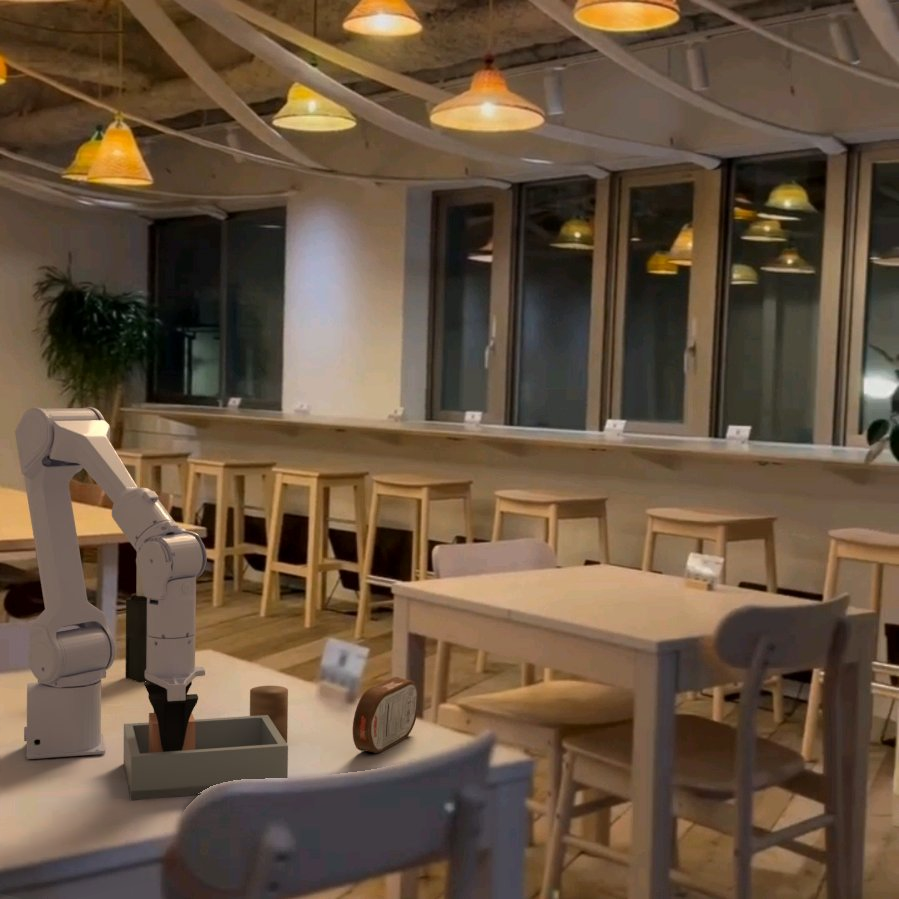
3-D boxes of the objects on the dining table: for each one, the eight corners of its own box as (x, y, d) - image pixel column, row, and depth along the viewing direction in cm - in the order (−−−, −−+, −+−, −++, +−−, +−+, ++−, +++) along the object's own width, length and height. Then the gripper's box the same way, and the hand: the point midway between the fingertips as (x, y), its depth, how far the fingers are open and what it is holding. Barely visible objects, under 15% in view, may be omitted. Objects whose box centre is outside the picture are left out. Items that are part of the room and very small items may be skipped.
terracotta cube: (152, 765, 147) (152, 724, 147) (148, 753, 152) (148, 713, 151) (194, 762, 149) (195, 721, 148) (190, 750, 153) (190, 710, 153)
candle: (167, 677, 200) (169, 522, 199) (140, 683, 196) (141, 525, 195) (149, 672, 203) (151, 520, 202) (122, 677, 200) (123, 522, 198)
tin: (401, 729, 173) (402, 669, 173) (421, 732, 172) (422, 672, 172) (349, 758, 160) (350, 693, 159) (371, 762, 158) (372, 696, 158)
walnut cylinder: (252, 748, 163) (253, 695, 162) (246, 738, 168) (247, 686, 167) (290, 746, 164) (291, 693, 164) (283, 735, 169) (284, 684, 169)
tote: (130, 800, 142) (131, 756, 142) (123, 763, 155) (123, 724, 155) (287, 787, 148) (288, 745, 147) (267, 753, 161) (267, 714, 161)
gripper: (212, 644, 144) (211, 760, 144) (197, 621, 157) (196, 727, 158) (149, 647, 141) (148, 765, 142) (140, 623, 155) (139, 730, 156)
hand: (170, 745), depth 150 cm, fingers closed on terracotta cube, 5 cm apart
